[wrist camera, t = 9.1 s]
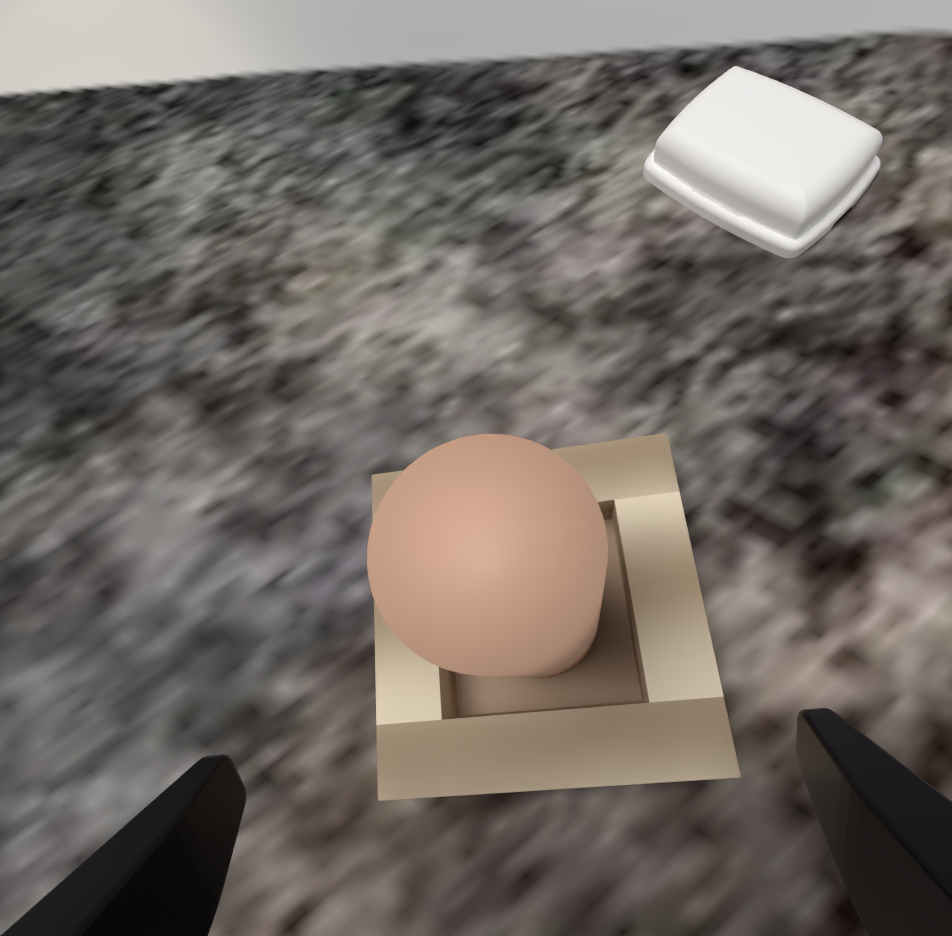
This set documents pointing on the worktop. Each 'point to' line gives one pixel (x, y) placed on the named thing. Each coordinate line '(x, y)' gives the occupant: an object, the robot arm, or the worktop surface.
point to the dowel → (490, 558)
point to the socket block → (575, 668)
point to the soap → (765, 161)
